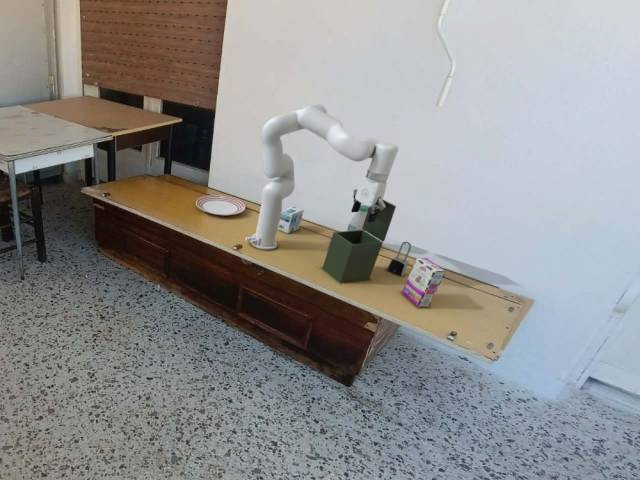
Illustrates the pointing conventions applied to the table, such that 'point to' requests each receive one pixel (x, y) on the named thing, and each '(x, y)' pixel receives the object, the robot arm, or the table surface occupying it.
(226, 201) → the dinner plate
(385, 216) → the bin lid
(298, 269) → the table surface
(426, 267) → the candy bar box
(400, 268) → the padlock
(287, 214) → the light bulb box
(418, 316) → the table surface
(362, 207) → the milk bottle
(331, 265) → the bin
